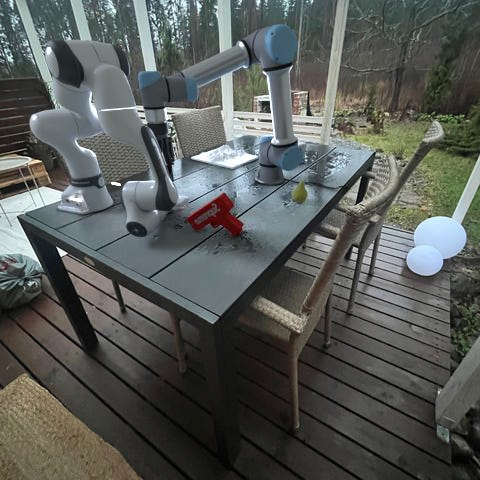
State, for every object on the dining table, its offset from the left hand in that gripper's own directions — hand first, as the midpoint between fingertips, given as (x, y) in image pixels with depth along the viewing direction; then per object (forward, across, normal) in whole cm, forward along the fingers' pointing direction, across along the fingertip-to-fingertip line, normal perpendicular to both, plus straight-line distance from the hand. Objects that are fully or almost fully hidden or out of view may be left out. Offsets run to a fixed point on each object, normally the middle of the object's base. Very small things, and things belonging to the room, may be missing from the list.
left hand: (169, 194), depth 113 cm
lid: (-1, 0, -9) cm, 9 cm away
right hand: (-1, 0, -5) cm, 5 cm away
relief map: (+76, -8, +7) cm, 77 cm away
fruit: (+14, -55, +7) cm, 57 cm away
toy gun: (-16, -23, +7) cm, 29 cm away
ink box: (+73, -56, +7) cm, 92 cm away
